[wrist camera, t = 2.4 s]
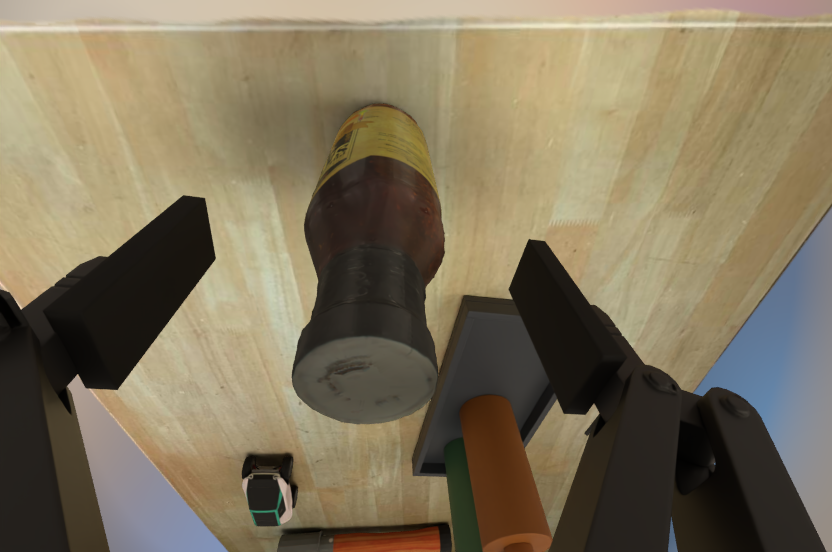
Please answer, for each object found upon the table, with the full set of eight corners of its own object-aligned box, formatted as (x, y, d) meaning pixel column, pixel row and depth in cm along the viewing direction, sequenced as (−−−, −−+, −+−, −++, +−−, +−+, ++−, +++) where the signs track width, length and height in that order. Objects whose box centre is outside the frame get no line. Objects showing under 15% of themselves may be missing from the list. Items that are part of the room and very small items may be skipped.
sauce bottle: (340, 91, 23) (221, 259, 7) (434, 109, 24) (519, 293, 8) (335, 187, 27) (250, 439, 11) (416, 199, 28) (450, 448, 12)
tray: (464, 295, 34) (468, 311, 32) (594, 308, 36) (606, 324, 34) (411, 459, 51) (412, 476, 49) (501, 462, 53) (505, 478, 51)
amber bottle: (466, 392, 41) (507, 596, 27) (518, 395, 42) (584, 594, 28) (453, 423, 45) (483, 618, 30) (501, 426, 46) (553, 615, 31)
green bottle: (449, 435, 46) (475, 625, 32) (495, 437, 47) (542, 623, 33) (439, 460, 50) (458, 640, 35) (482, 461, 51) (518, 638, 36)
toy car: (259, 492, 54) (247, 533, 50) (247, 451, 48) (232, 494, 43) (298, 492, 55) (290, 532, 51) (292, 452, 48) (282, 494, 44)
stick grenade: (452, 540, 61) (273, 556, 58) (451, 564, 62) (276, 580, 60) (447, 512, 66) (281, 526, 63) (446, 534, 67) (284, 548, 65)
